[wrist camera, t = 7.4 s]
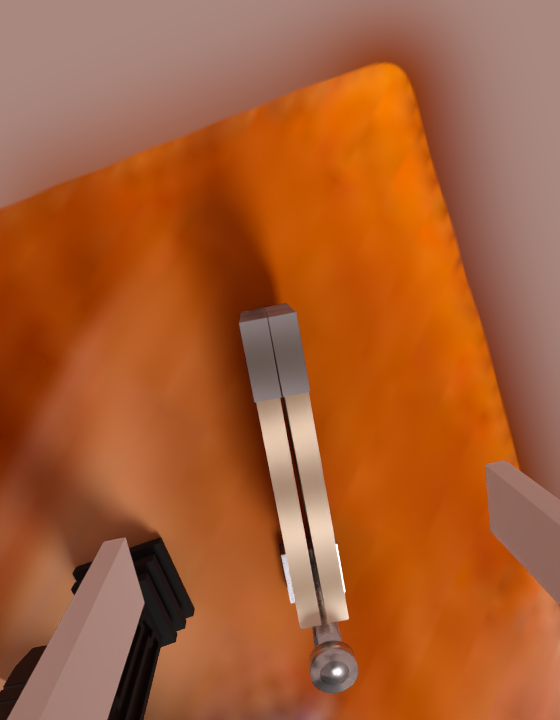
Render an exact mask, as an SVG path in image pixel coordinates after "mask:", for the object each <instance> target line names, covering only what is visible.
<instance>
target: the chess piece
mask: <svg viewBox="0 0 560 720" xmlns="http://www.w3.org/2000/svg"><path fill="white" fill-rule="evenodd" d="M129 551H130V555H131V558H132V561H133V565H134V568H135V572H136V575H137V578H138V582H139V585H140V589H141V592H142V596H143V599H144V602H145V603H144V606H143V609H142V612H141V616H140V619H139V622H138V625H137V628H136V631H135V634H134V637H133V641H132V644H131V647H130V650H129V653H128V656H127V659H126V663H125V666H124V669H123V672H122V675H121V678H120V681H119V684H118V688H117V691H116V694H115V697H114V700H113V703H112V706H111V710H110V713H109V716H108V719H107V720H143V719H144V715H145V711H146V706H147V702H148V698H149V694H150V690H151V685H152V681H153V677H154V673H155V669H156V665H157V660H158V656H159V652H160V648H161V647H163V646H166V645H169V644H172V643H174V642H176V638H177V632H176V631H179V630H182V629H184V628H185V625H186V618H188V617H191V616H193V615H194V607H193V604H192V602H191V600H190V598H189V596H188V594H187V592H186V590H185V587H184V585H183V583H182V581H181V579H180V577H179V575H178V572H177V570H176V568H175V566H174V564H173V562H172V560H171V558H170V555H169V553H168V551H167V549H166V547H165V545H164V543H163V540H162V538H161V537H160V538H158V539H155V540H152V541H149V542H146V543H144V544H141V545H138V546H135V547H132V548H129ZM91 564H92V562H90V563H87V564H84V565H81V566H79V567H76V568H75V570H74V572H73V576H74V578H75V579H76V581H77V582H75V583H74V585H73V587H72V589H71V590H72V592H73V594H74V595H75V594H76V592H77V590H78V588H79V586H80V584H81V583H82V581H83V579H84V577H85V575H86V573H87V572H88V570H89V568H90V566H91Z"/></svg>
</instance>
